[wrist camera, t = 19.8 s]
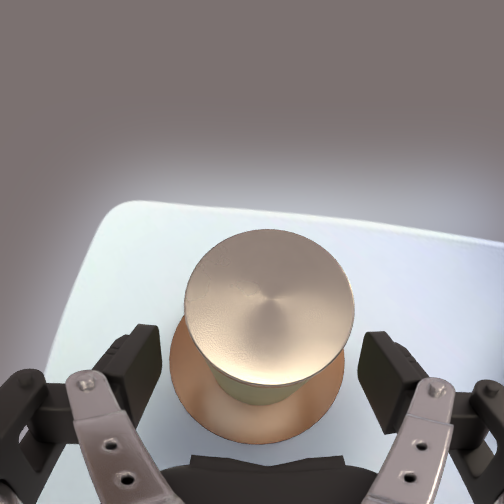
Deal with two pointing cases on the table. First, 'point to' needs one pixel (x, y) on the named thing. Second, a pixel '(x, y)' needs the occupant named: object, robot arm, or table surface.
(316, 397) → the coaster
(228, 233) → the table surface
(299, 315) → the tin
